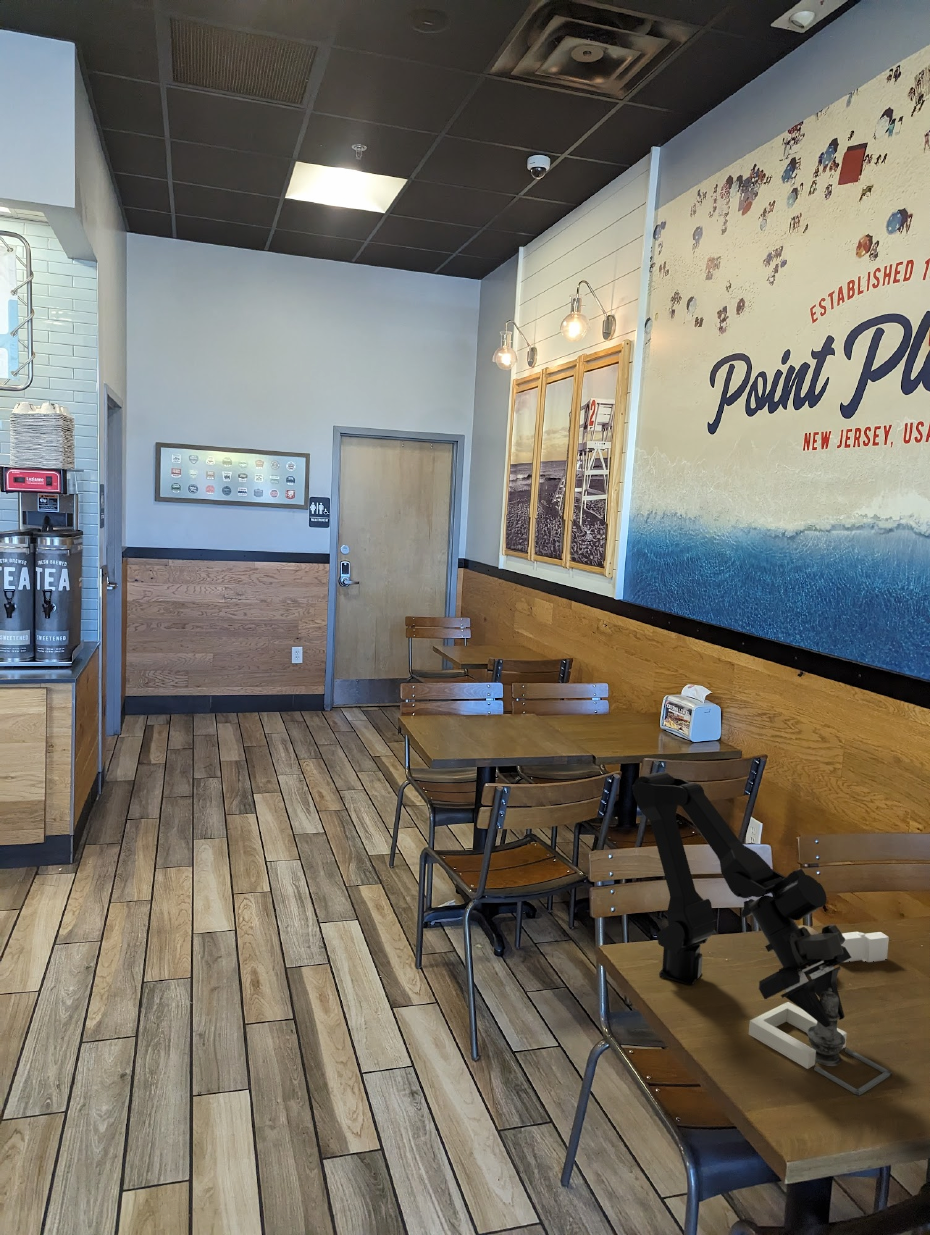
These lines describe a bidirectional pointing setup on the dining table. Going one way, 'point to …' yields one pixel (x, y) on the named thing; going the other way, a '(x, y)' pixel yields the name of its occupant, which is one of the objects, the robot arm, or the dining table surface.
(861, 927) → the dining table surface
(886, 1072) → the frame
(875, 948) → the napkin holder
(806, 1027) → the u-shaped bracket
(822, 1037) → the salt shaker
